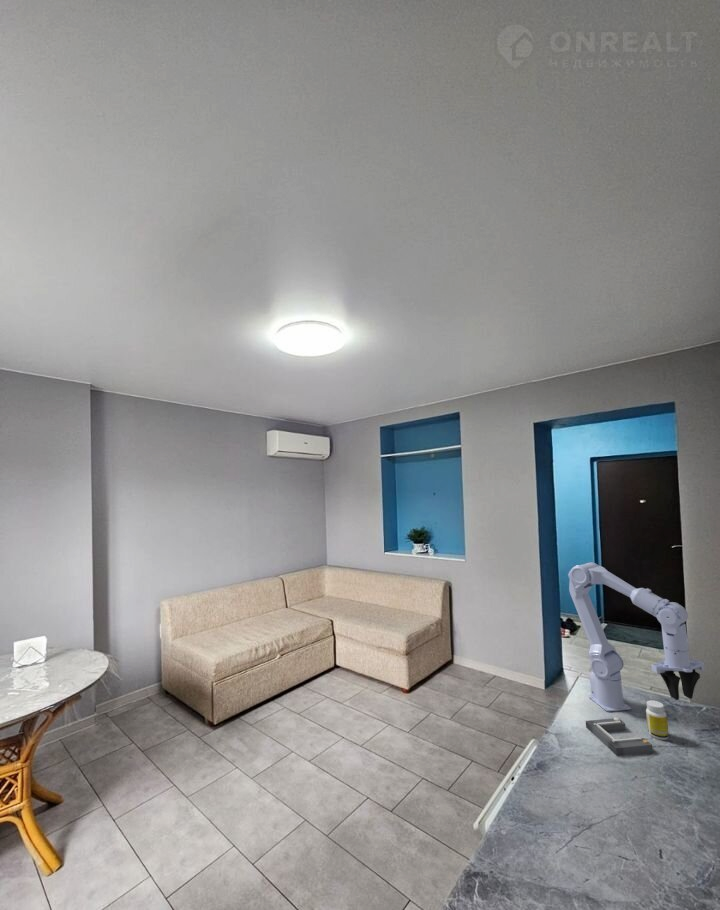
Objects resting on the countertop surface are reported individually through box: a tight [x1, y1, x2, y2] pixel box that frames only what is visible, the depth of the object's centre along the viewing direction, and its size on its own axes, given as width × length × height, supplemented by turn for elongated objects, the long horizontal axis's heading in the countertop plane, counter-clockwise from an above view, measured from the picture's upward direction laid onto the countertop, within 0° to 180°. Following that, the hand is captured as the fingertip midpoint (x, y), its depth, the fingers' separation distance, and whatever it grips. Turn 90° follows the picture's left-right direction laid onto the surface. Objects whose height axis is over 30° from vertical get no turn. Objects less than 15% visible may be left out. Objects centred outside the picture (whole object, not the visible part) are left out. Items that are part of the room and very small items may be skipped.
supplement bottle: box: [645, 700, 670, 741], centre depth 116 cm, size 5×5×8 cm
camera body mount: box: [585, 716, 654, 756], centre depth 114 cm, size 13×10×2 cm
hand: (681, 697), depth 117 cm, fingers open, 3 cm apart
